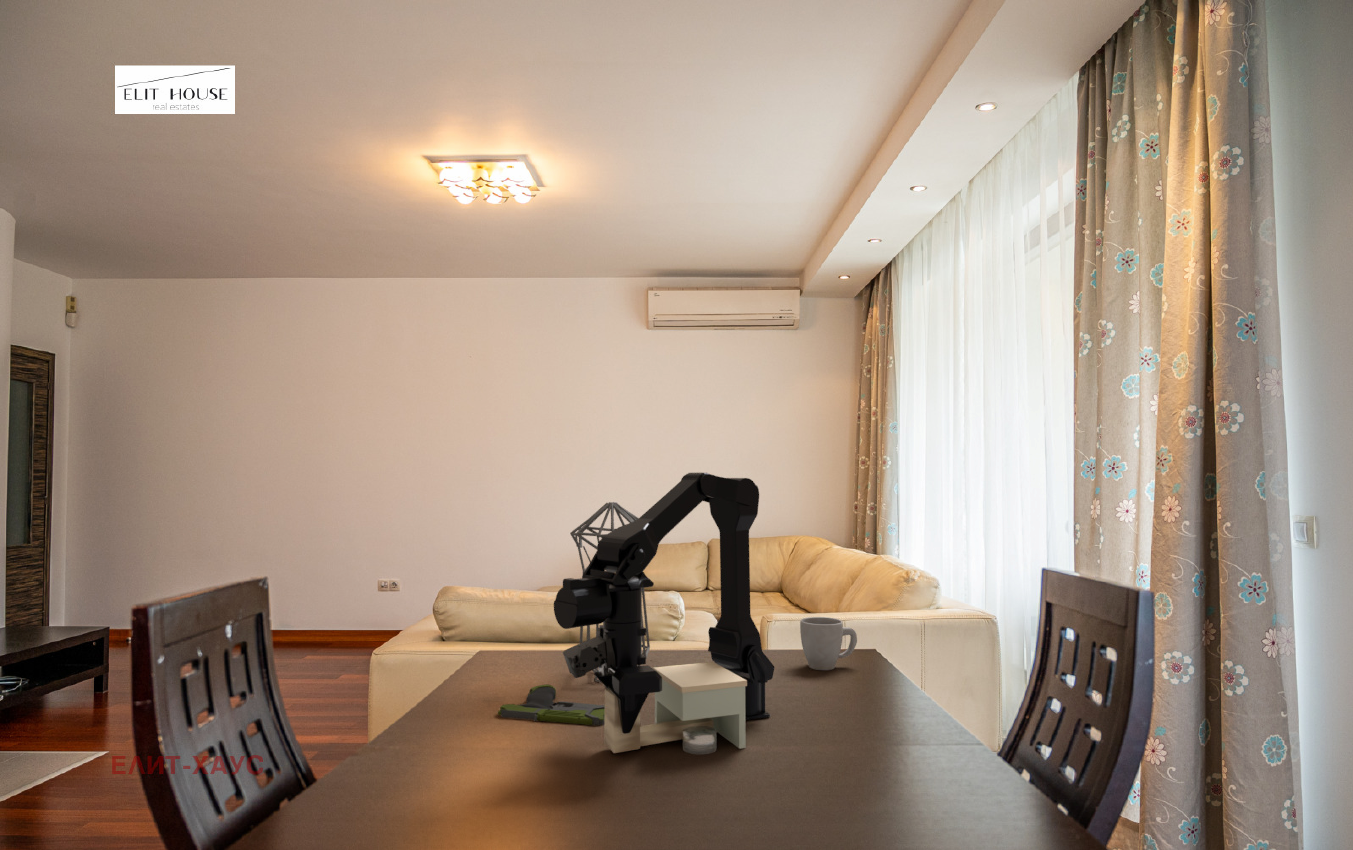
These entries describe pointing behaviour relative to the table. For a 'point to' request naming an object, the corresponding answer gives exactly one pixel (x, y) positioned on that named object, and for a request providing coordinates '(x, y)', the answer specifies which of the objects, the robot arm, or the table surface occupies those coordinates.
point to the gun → (553, 709)
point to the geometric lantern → (585, 525)
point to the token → (699, 740)
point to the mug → (824, 641)
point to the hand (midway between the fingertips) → (621, 728)
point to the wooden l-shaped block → (641, 729)
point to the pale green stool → (703, 698)
